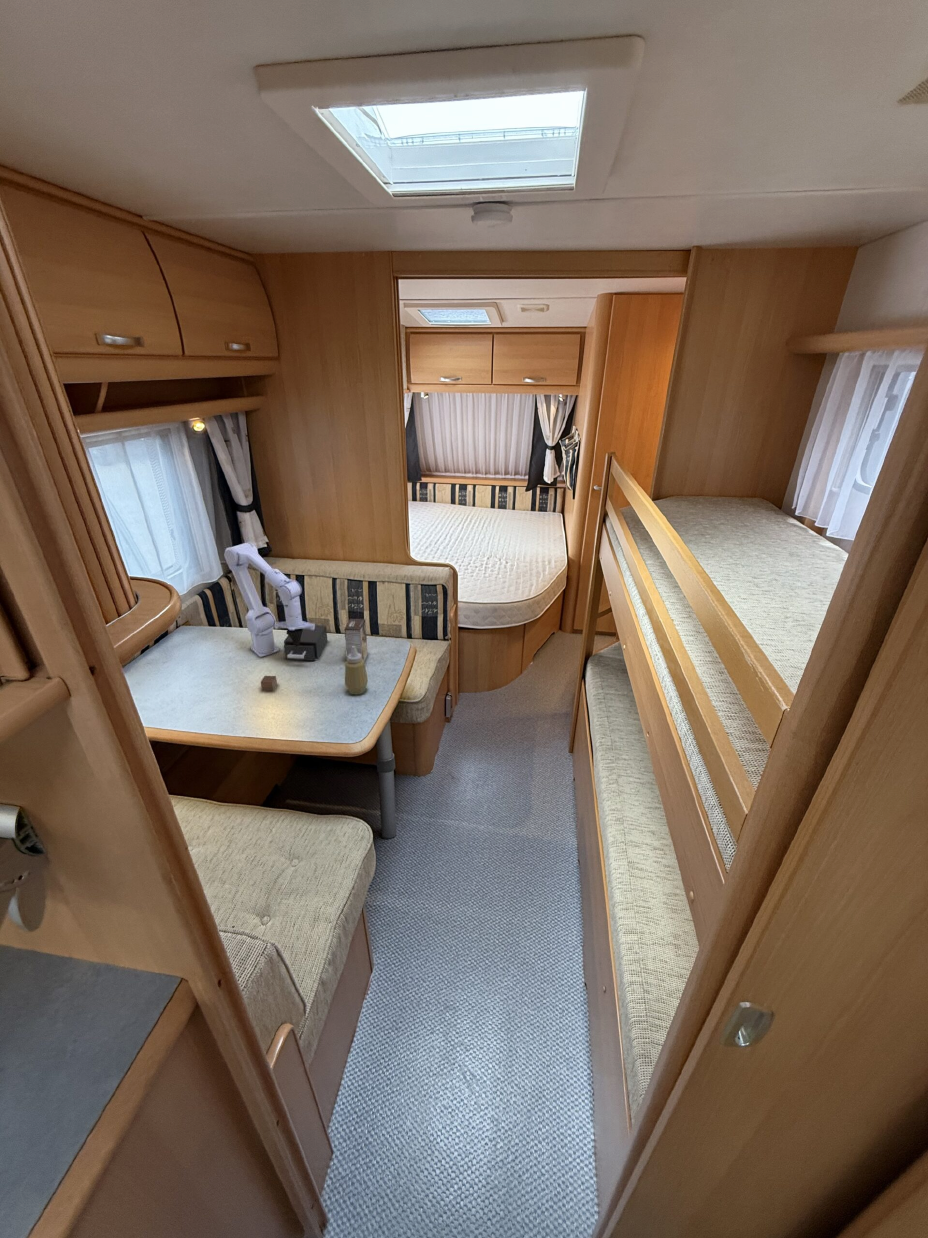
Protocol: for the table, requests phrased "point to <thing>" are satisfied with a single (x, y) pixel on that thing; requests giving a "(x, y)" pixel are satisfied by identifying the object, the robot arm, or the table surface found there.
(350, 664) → the squeeze bottle
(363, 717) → the table surface
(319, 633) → the dark grey drawer box
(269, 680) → the block
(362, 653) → the coffee box
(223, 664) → the table surface
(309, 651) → the drawer
